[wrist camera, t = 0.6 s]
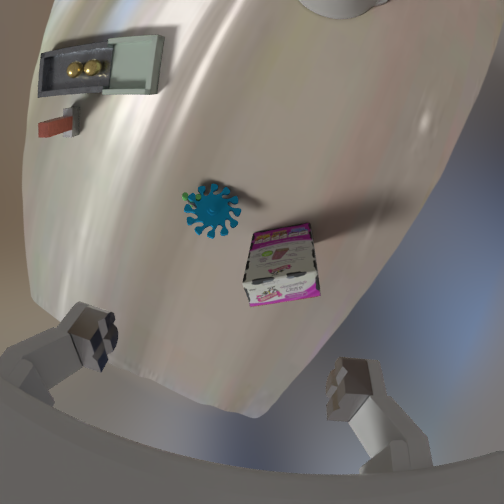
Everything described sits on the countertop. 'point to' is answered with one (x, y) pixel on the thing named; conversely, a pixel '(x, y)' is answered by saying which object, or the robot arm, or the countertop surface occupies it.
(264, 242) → the candy bar box
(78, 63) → the yellow-brown round piece
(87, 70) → the shiny gold ball
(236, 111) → the countertop surface
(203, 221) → the gear
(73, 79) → the tray
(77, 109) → the red-brown bar
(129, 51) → the tray
